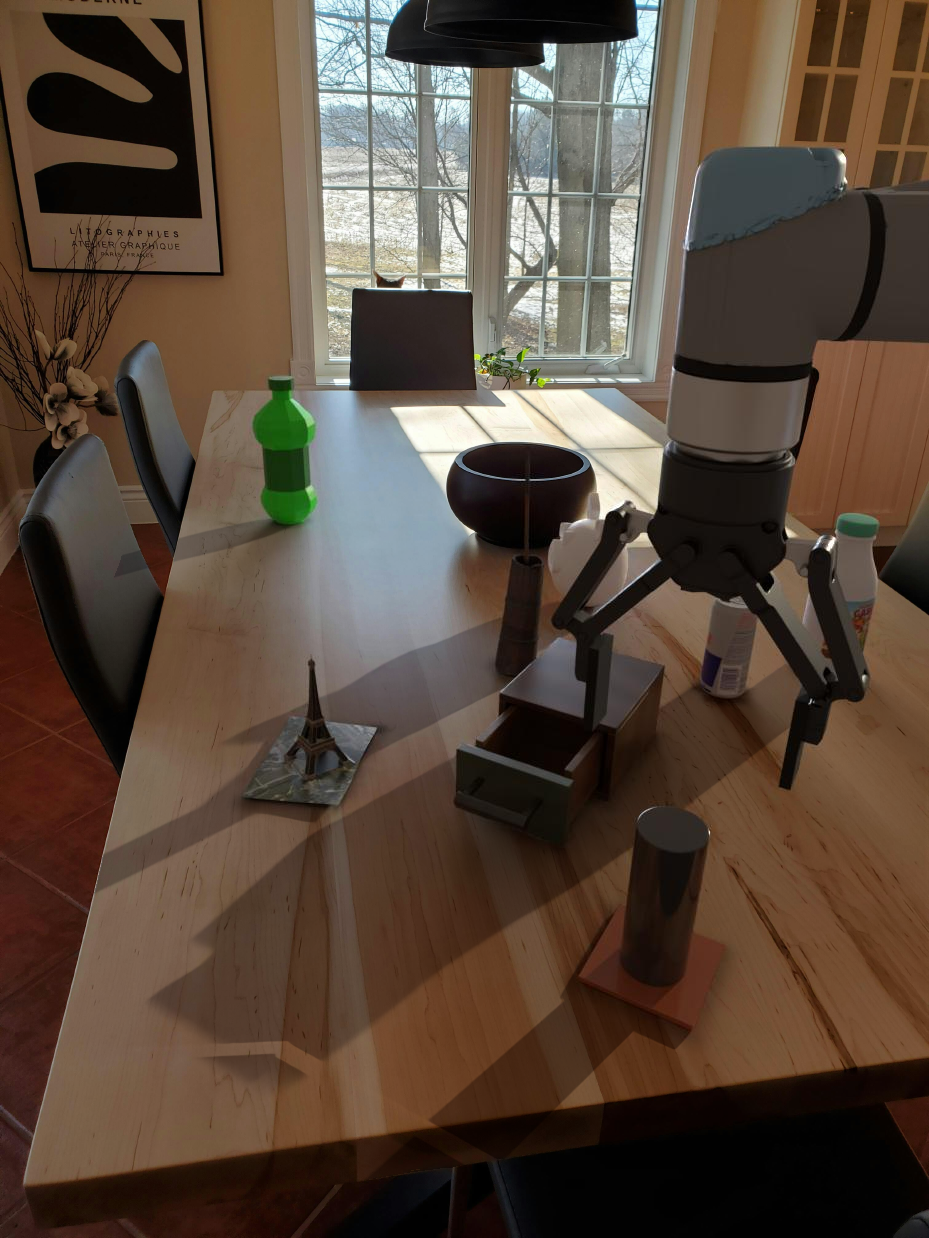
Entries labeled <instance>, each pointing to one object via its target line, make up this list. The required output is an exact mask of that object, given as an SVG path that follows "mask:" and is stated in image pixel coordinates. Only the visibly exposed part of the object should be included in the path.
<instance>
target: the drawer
mask: <svg viewBox="0 0 929 1238" xmlns="http://www.w3.org/2000/svg"><path fill="white" fill-rule="evenodd" d="M607 737H608V733H607V732H604V731H600V730H597V729H594V730H593V731H589V730H585V729H583V725H581V724H577V723H574V722H571V721H568V720H564V719H561V718H558V717H555V716H551V715H548V714H545V713H541V712H538V711H535V710H532V709H528V708H525V707H522V706H519V705H515V704H512V705H511V706H510V707H509V708H508V709H507V710H506V711H505V712H504V713H503V714H502V715H501V716H500V717H499V718H498V717H497V718H496V720H494V721H493V722H492V723H491V724H490V725H489V726H488V727H487V728H486V729H485V730H484V731H483V732H482V733H481V734H480V735H479V736H478V737H477V738H476V739H475V746H473V745H471V744H467V743H465V742H462V743H461V744H460V745H458V746H457V747H456V750H455V751H456V753H455V754H456V755H455V794H454V795H455V796H454V798H453V805H454V808H455V809H459V810H461V811H464V812H467V813H469V814H472V815H475V816H478V817H479V818H483V819H486V820H488V821H490V822H493V823H496V824H498V825H501V826H504V827H507V828H509V829H512V830H515V831H517V832H520V833H523V834H525V835H528V836H530V837H533V838H536V839H539V840H541V841H544V842H547V843H549V844H552V845H554V846H557V847H559V848H562V849H563V848H565V846H567V844H568V842H569V839H570V828H571V824H572V822H573V821H574V819H575V818H576V817H577V816H578V814H579V812H580V811H581V810H582V808H583V807H584V806H585V804H586V803H587V802H588V800H589V799H590V798H591V795H592V793H593V792H594V791H595V789H596V788H597V786H598V785H599V784H600V782H601V781H602V780H603V774H604V765H605V756H606V746H607Z"/></svg>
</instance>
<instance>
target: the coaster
mask: <svg viewBox="0 0 929 1238" xmlns="http://www.w3.org/2000/svg"><path fill="white" fill-rule="evenodd" d="M625 908H626V904H622V903H619V905H617V908H616V910H615V912H614V913H613V915H612V917H611V918H610V920H609V921H608V924H607V925H606V927H605V929H604V930H603V932H602V934H601V935H600V937H599V940H597V942H596V944H595V947H594V948H593V950H592V951H591V953H590V955H589V957H588V958H587V960H586V961H585V964H584V965H583V967H582V969H581V970H580V973H579V974H578V976H577V981H578V982H579V983H582V984H584V985H587V986H588V987H592V988H594V989H595V990H597V991H601V992H603V993H605V994H607V995H609V996H612V997H614V998H617V999H618V1000H621V1001H623V1002H625V1003H627V1004H629V1005H632V1006H634V1007H636V1008H639V1009H641V1010H644V1011H645V1012H648V1013H650V1014H653V1015H655V1016H657V1017H659V1018H661V1019H664V1020H666V1021H668V1022H670V1023H673V1024H675V1025H677V1026H680V1027H681V1028H684V1029H686V1030H689V1031H691V1032H693V1030H694V1028H695V1025H696V1023H697V1020H698V1017H699V1016H700V1012H701V1011H702V1008H703V1005H704V1003H705V1000H706V998H707V996H708V993H709V992H710V991H709V990H710V988H711V985H712V983H713V980H714V978H715V976H716V973H717V971H718V968H719V965H720V963H721V962H722V961H721V960H722V958H723V956H724V953H725V951H726V947H727V946H726V944H725V943H721V942H719V941H716V940H715V939H714V940H713V939H711V938H708V937H706V936H704V935H701V934H698V933H696V932H694V931H693V936H692V941H691V947H690V953H689V958H688V964H687V970H686V973H685V975H684V976H683V977H682V979H680V980H679V981H678V982H676V983H674V984H672V985H669V986H651V985H647V984H644V983H641V982H639V981H637V980H636V979H634V978H633V977H632V976H630V975H629V974H628V973H627V972H626V970H625V969H624V968H623V966H622V964H621V961H620V946H621V939H622V931H623V923H624V916H625Z"/></svg>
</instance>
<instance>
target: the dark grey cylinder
mask: <svg viewBox="0 0 929 1238" xmlns="http://www.w3.org/2000/svg"><path fill="white" fill-rule="evenodd" d="M634 833H635V834H634V839H633V846H632V854H631V863H630V871H629V878H628V886H627V893H626V901H625V906H626V908H625V916H624V923H623V931H622V939H621V946H620V961H621V964H622V966H623V968H624V969H625V970H626V972H627V973H628V974H629V975H630V976H632V977H633V978H634V979H636V980H637V981H639V982H641V983H644V984H647V985H651V986H669V985H672V984H674V983H676V982H678V981H679V980H680V979H682V977H683V976H684V975H685V973H686V970H687V964H688V958H689V953H690V947H691V941H692V936H693V932H694V930H695V925H696V919H697V918H696V917H697V914H698V913H697V912H698V906H699V901H700V897H701V896H700V895H701V889H702V885H703V884H702V883H703V880H704V879H703V878H704V873H705V867H706V862H707V855H708V850H709V844H710V839H711V832H710V829H709V826H708V825H707V823H706V822H705V821H704V820H703V819H702V818H701V817H699V816H698V815H697V814H695V813H693V812H691V811H689V810H687V809H684V808H680V807H677V806H671V805H669V806H668V805H660V806H654V807H650V808H648V809H646V810H644V811H642V812H641V814H640V815H639V816H638V817H637V820H636V824H635V832H634Z"/></svg>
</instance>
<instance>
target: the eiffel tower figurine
mask: <svg viewBox="0 0 929 1238" xmlns="http://www.w3.org/2000/svg"><path fill="white" fill-rule="evenodd" d="M312 657H313V656H312V655H310V659H309V660H308V661H307V666H308V705H307V713H306V715H305V717H301V716H293V715H290V717H289V718H288V719H287V721H286V723H285V724H284V726H283V728H282V729H281V731H280V733H279V734H278V736H277V738H276V739H275V741H274V743H273V744H272V746H271V747H270V748H269V751H268V752H267V754H266V755H265V757H264V759H263V761H262V762H261V764H260V766H259V767H258V769H257V770H256V772H255V774H254V775H253V777H252V779H251V780H250V782H249V784H248V785H247V787H246V789H245V791H244V792H243V794H242V795H241V798H247V799H257V800H268V801H281V802H293V803H306V804H307V803H308V804H323V805H334V806H339V805H340V803H341V802H342V800H343V798H344V796H345V794H346V792H347V791H348V789H349V787H350V785H351V783H352V782H353V781H352V780H353V778H354V776H355V773H356V771H357V769H358V766H360V762H361V760H362V757H363V756H364V753H365V751H366V750H367V747H368V746H369V744H370V742H371V740H372V738H373V736H375V733H376V731H377V729H378V727H375V726H374V727H373V726H367V725H358V724H350V723H343V722H335V721H328V720H325V718H326V717H325V716H324V715H323V713H322V708H321V703H320V696H319V691H318V683H317V676H316V662H315V660H314V659H313V658H312Z"/></svg>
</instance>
